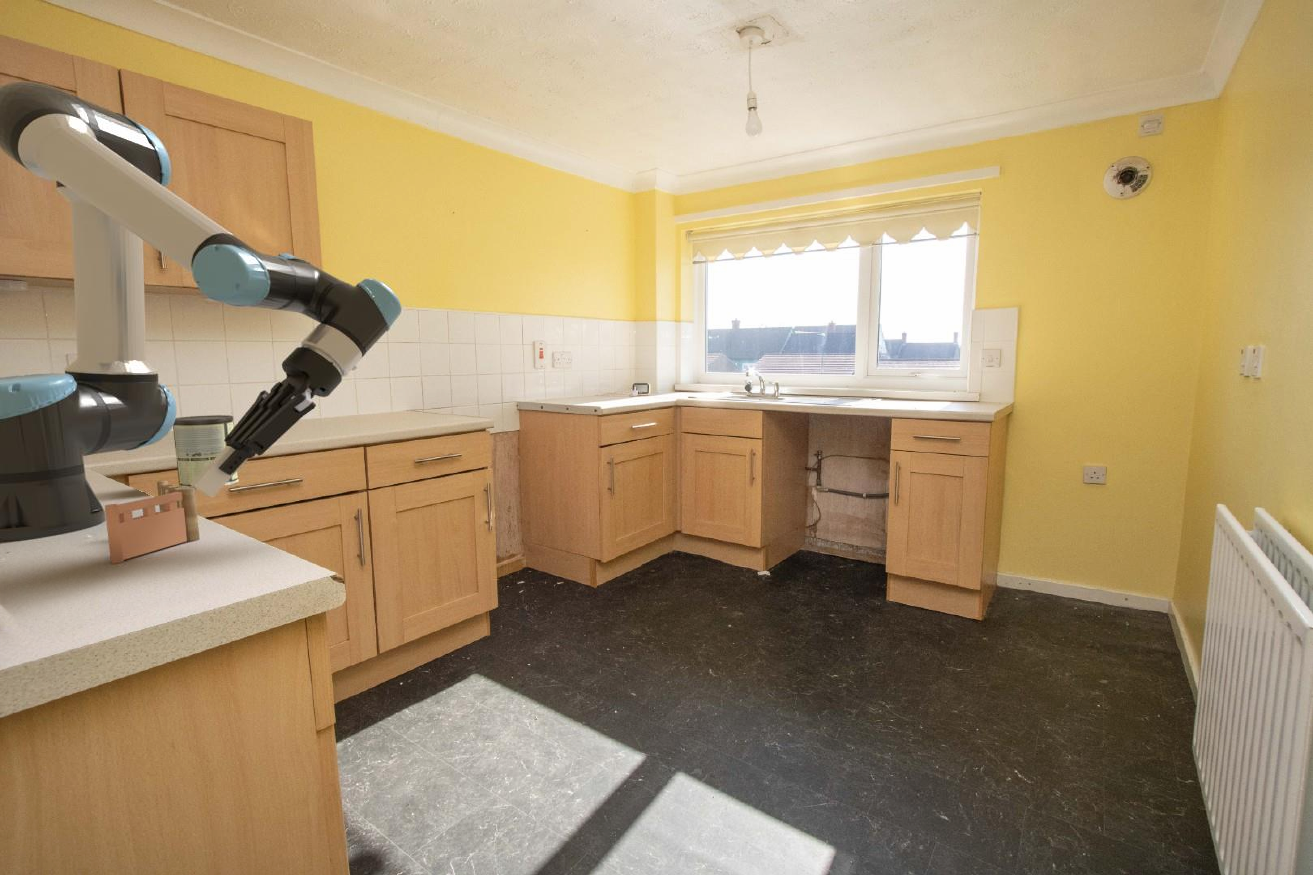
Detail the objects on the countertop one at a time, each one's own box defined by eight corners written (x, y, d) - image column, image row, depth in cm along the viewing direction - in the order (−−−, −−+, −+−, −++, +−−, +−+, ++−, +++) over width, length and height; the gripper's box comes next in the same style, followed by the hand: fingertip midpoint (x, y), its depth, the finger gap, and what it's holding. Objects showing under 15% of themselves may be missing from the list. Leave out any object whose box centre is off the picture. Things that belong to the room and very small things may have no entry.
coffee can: (171, 485, 129) (165, 417, 127) (229, 478, 137) (224, 414, 135) (186, 491, 123) (179, 420, 121) (246, 483, 130) (240, 416, 129)
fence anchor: (159, 532, 91) (153, 481, 90) (172, 529, 92) (167, 480, 91) (187, 544, 84) (182, 490, 83) (201, 542, 86) (196, 488, 85)
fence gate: (180, 541, 84) (175, 490, 84) (187, 542, 84) (182, 490, 83) (108, 563, 75) (101, 505, 75) (116, 563, 75) (109, 506, 74)
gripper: (363, 380, 92) (246, 514, 80) (319, 379, 99) (207, 500, 88) (323, 343, 87) (193, 480, 75) (281, 345, 94) (157, 469, 83)
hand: (201, 491), depth 82 cm, fingers closed
